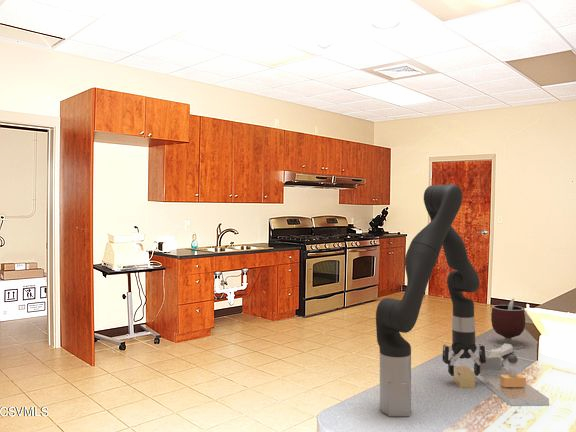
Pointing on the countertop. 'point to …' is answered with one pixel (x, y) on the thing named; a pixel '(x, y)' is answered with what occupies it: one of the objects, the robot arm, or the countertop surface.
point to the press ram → (512, 375)
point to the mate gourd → (508, 323)
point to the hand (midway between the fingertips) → (464, 375)
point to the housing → (464, 377)
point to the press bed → (509, 394)
